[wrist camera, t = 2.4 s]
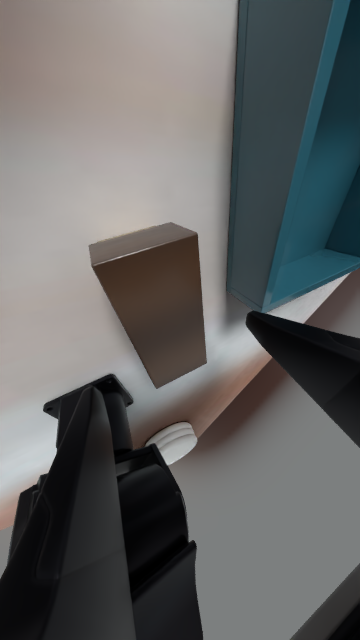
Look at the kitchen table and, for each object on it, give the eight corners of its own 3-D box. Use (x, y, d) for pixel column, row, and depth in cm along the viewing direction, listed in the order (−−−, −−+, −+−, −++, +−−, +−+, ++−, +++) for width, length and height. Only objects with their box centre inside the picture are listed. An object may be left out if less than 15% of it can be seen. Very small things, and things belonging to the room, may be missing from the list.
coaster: (187, 414, 32) (197, 433, 29) (191, 430, 38) (199, 447, 36) (136, 442, 29) (142, 466, 27) (150, 454, 36) (155, 474, 33)
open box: (320, 251, 20) (367, 264, 17) (226, 290, 17) (260, 315, 14) (432, -18, 10) (609, -121, 6) (240, -41, 7) (392, -254, 3)
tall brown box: (181, 327, 17) (207, 363, 14) (139, 345, 16) (156, 389, 13) (159, 216, 11) (198, 232, 7) (87, 236, 10) (90, 265, 6)
